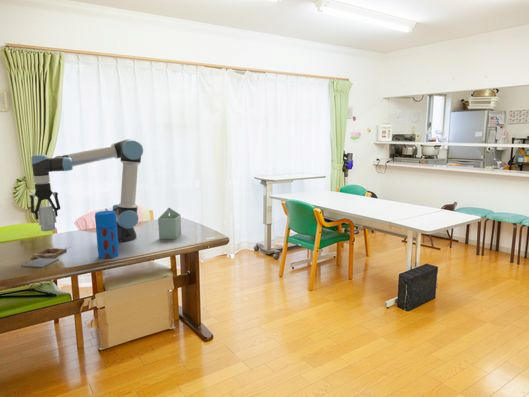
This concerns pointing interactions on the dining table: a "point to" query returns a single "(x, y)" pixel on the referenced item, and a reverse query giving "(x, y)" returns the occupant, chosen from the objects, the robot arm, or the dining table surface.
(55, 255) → the frame
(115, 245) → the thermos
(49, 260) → the coaster
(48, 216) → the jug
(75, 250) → the dining table surface
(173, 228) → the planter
